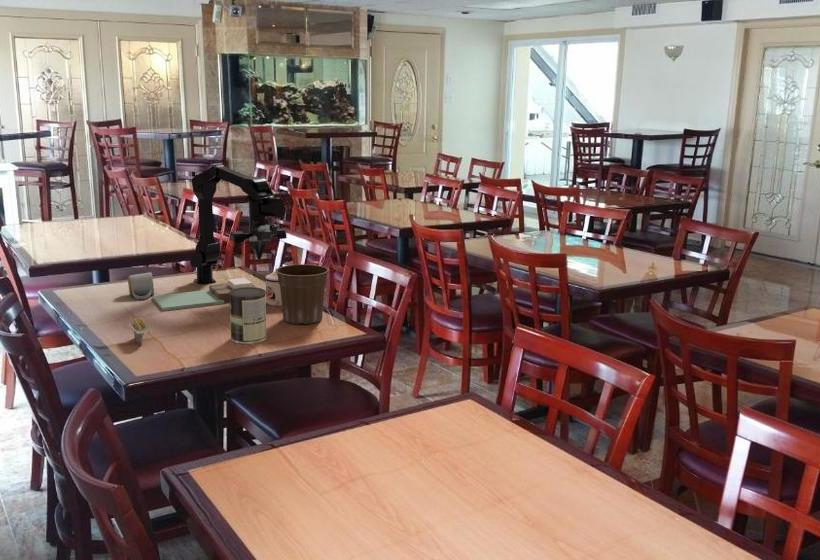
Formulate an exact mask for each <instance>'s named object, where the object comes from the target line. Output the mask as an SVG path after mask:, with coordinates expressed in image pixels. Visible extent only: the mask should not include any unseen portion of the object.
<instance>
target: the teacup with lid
mask: <svg viewBox="0 0 820 560" xmlns="http://www.w3.org/2000/svg"><path fill="white" fill-rule="evenodd" d="M264 280H265V291H266V294H265V299H266V304H267V305H269V306H273V307H275V306H277V307H282V301H281V291H280V284H279V283H278V275H277V273H276V270H275V271H273V272H271V273H269V274H267V275H265V277H264Z"/></svg>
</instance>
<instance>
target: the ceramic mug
mask: <svg viewBox="0 0 820 560" xmlns="http://www.w3.org/2000/svg"><path fill="white" fill-rule="evenodd" d="M127 286H128V292H129V295H130V296H132V297H133V298H134V299H136V300H139V299H144V300H147V299H150V297H151V296H155V288H154V287H155V286H154V279H153V273H152V272H151V271H149V272H145V273H144V272H143V273H137V274H131V275H129V276H128V277H127ZM140 295H141V296H140Z"/></svg>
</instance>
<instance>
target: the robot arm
mask: <svg viewBox="0 0 820 560" xmlns="http://www.w3.org/2000/svg"><path fill="white" fill-rule="evenodd" d="M221 181H224V182H227V183H229V184H231V185H234V186H236V187H239V188H240V189H241V190H242V192H243V193H244V194H246V195H247V196H246V197H245V198H244V199H243V201H244V202H247V203H248V213H249V214H248V222H249V223H248V224H249V228H248V232H249V233H248V232H246V233H245V232H243V231H238V230H237V231H230V233H229V235H228V236H229V241H231V242H233V243H244V242H245V241H246V242H247V243H248V244H249V245H250V246H251V248H252V250H253V252H254V255H255V257H256V259H257V260H258V261H261V260H262V256H263V255H264V254H263V253H264V251H265V248H266V245H267V244H268V243H271V240H272V238H274V237H276V238H277V239H278V240H281V239H282V240H283V239H287V238H288V237H287V231H286V230H285V229H283V228H278V226H277V224H276V223H275V224H269V222H268V218H275V219H282V218H283V217H284V216H285V213H286V209H287V208H286V206H285V203H284V202H283V201H282V197H276V196H275V193H274V192H273V190H272V189H271V187H270V185H269V183H268V180H267V179H266V178H264V177H259V176H250V175H247V174H244V173H242V172H239V171H236V170H234V169H232V168H229V167H226V166H225V165H223V164H215V165H212V166H210V167H209V168H207V169H205V170H204V171H202V172H199V173H198V174H195V175H194V176H193V177H192V179H191V186H192V190H193V191H192V192H193V193H194V195H195V197H196V198H197V205H198V206H197V208H198V210H197V211H198V227H199V228H198V230H199V232H198V233H199V239H198V241H197V243H196V246H195V253H194V255H193V256H192V258H191V259H190V260H189V263H190V266H191V267H192V268H196V269H195V270H196V278H194V279H193V281H194V282H195V283H196V284H198V285H202V284H211V283H216V280H215V279H214V275H213V274H214V273H213V265H217V264H218V261H219V259H220V256H221V255H220V254H222V252H221V243H220V242H217V240H216V239H215V235H214V231H215V230H214V214H213V213H214V212H213V209H214V208H213V207H214V206H213V198H214V195H215V194H216V192H217V184H219V183H220V182H221ZM267 217H268V218H267Z"/></svg>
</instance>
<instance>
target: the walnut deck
mask: <svg viewBox="0 0 820 560" xmlns="http://www.w3.org/2000/svg"><path fill="white" fill-rule="evenodd" d="M208 286H209V287H208V288H209V289H208V290H209V291H210V292H211V293H212V294H214V295H215V296H216V297H217V298H218V299H219V300H224V303H230V299H229V291H231V290H233V288H231V287H230V286H229V285H228V282H227V283H219V284H210V285H208ZM252 287H256V288H258V286H255V285H254V284H253V283H252Z"/></svg>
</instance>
